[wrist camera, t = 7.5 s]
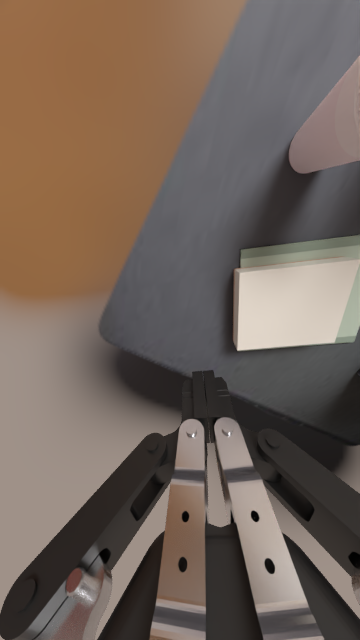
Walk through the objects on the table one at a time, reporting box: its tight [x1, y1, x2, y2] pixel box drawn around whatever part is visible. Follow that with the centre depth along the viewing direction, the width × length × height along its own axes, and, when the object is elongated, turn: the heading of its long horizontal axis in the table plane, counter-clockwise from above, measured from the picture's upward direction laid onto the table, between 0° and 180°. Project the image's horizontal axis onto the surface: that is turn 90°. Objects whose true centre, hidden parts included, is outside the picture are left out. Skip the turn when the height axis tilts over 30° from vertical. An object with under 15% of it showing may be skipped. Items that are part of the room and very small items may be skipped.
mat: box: [238, 235, 360, 351], centre depth 23 cm, size 16×14×1 cm
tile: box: [233, 256, 360, 351], centre depth 22 cm, size 2×10×12 cm
